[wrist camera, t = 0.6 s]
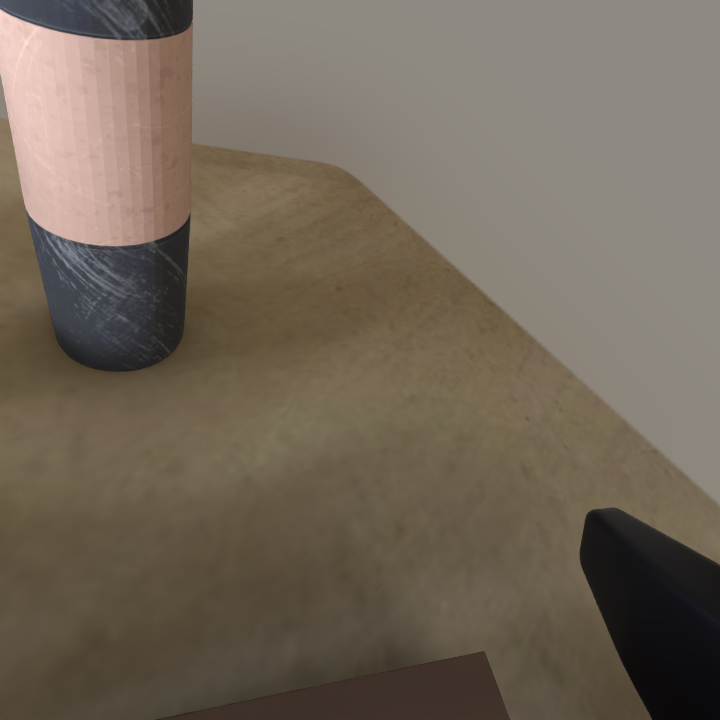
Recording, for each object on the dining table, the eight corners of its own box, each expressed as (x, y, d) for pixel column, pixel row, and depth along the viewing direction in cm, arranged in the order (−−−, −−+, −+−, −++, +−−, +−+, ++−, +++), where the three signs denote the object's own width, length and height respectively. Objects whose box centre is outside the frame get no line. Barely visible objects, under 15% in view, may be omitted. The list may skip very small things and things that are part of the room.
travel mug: (214, 326, 37) (236, -42, 24) (122, 396, 32) (84, -28, 18) (121, 273, 39) (92, -100, 25) (19, 331, 34) (-87, -102, 20)
